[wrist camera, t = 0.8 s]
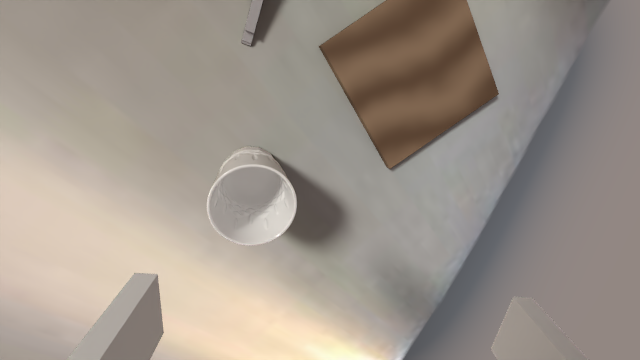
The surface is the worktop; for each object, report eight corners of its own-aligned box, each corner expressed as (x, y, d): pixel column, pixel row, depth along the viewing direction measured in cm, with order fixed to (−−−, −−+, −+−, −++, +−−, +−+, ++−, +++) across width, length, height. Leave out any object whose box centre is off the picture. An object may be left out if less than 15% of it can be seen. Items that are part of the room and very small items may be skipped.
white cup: (273, 210, 39) (282, 252, 30) (209, 195, 37) (197, 236, 28) (292, 151, 37) (308, 177, 28) (226, 132, 35) (219, 153, 26)
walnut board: (318, 46, 34) (320, 45, 33) (445, -41, 34) (451, -44, 33) (386, 166, 41) (389, 169, 40) (493, 93, 41) (498, 93, 40)
